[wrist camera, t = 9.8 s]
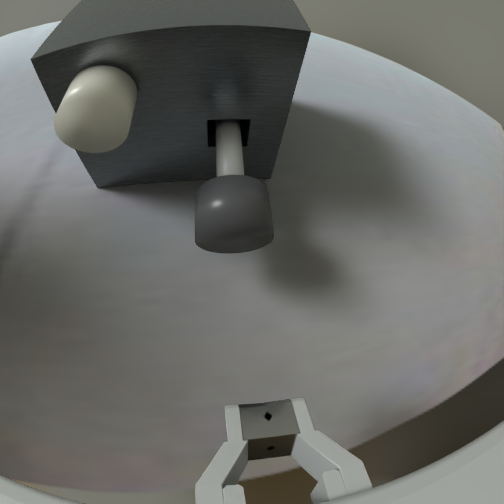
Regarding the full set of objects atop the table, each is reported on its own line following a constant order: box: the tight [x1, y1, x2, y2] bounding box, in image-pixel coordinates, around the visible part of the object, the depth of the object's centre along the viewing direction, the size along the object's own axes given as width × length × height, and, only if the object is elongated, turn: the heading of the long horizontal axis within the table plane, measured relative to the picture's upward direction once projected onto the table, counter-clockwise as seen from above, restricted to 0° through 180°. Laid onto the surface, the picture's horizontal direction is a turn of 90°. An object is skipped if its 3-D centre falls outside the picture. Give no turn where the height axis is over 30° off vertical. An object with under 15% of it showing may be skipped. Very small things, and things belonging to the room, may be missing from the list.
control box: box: [31, 0, 311, 188], centre depth 20 cm, size 12×16×15 cm
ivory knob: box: [54, 65, 138, 153], centre depth 15 cm, size 10×5×5 cm, turn 5°
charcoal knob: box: [195, 119, 274, 253], centre depth 19 cm, size 10×5×5 cm, turn 5°
